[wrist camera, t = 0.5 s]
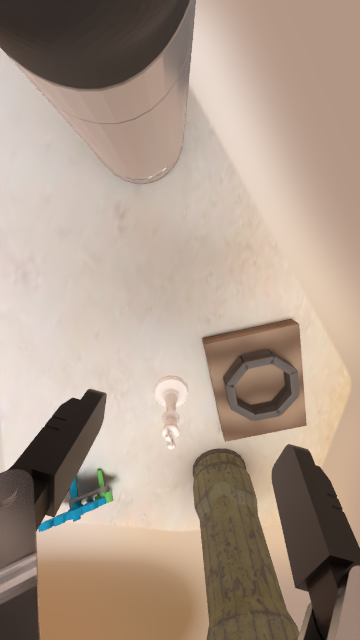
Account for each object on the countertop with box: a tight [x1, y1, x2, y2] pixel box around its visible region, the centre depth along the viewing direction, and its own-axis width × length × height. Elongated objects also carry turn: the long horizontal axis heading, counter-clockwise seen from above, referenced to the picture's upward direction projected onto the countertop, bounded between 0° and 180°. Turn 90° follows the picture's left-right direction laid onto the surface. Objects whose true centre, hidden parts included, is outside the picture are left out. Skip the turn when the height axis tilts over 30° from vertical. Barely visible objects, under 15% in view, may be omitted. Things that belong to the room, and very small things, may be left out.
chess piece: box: [154, 376, 188, 449], centre depth 30 cm, size 5×5×10 cm
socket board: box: [203, 319, 306, 442], centre depth 33 cm, size 16×12×4 cm
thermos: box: [193, 449, 299, 640], centre depth 23 cm, size 9×12×35 cm
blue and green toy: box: [39, 470, 113, 532], centre depth 38 cm, size 11×6×10 cm
